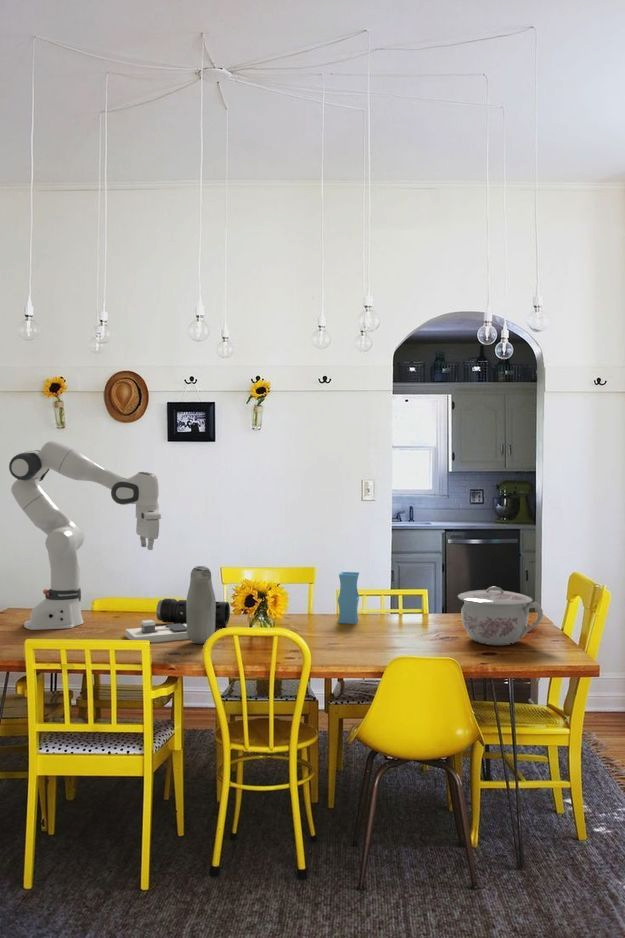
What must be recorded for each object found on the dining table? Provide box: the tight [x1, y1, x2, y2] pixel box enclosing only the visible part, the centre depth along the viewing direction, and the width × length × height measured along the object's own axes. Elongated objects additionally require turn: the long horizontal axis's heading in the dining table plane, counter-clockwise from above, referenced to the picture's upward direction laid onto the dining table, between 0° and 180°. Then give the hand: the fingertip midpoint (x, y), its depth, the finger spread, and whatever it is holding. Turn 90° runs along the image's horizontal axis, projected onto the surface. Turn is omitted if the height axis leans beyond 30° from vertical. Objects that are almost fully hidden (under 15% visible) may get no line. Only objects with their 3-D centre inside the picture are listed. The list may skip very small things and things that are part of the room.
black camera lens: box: [155, 598, 231, 628], centre depth 325 cm, size 10×28×10 cm, turn 81°
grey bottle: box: [186, 565, 217, 645], centre depth 295 cm, size 10×10×28 cm
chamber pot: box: [457, 586, 544, 647], centre depth 303 cm, size 28×28×21 cm
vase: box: [337, 571, 360, 625], centre depth 336 cm, size 8×8×20 cm
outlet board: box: [125, 623, 190, 644], centre depth 304 cm, size 24×14×3 cm, turn 117°
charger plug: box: [141, 619, 156, 634], centre depth 301 cm, size 4×4×6 cm
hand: (146, 548), depth 320 cm, fingers open, 8 cm apart
